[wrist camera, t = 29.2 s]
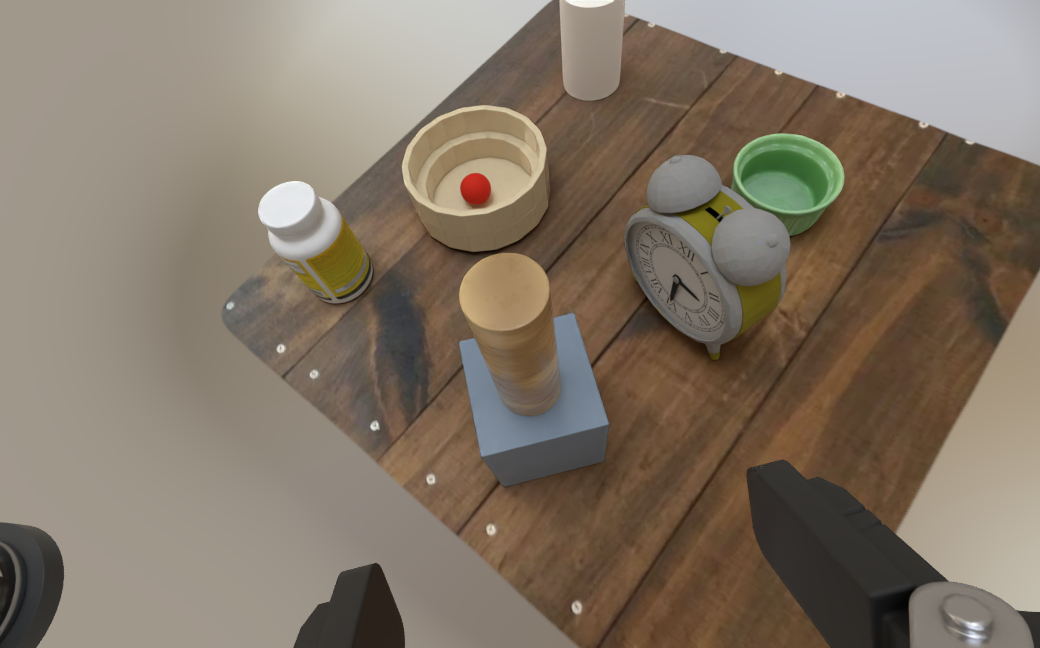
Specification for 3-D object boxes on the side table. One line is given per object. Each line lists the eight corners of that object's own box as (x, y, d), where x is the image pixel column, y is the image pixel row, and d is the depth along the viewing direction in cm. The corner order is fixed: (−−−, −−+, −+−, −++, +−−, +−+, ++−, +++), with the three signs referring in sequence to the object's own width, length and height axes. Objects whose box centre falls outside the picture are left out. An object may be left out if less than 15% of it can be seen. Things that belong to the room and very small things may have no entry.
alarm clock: (616, 281, 48) (627, 161, 35) (674, 241, 50) (706, 111, 36) (708, 378, 43) (762, 281, 30) (771, 331, 45) (849, 218, 31)
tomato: (485, 167, 53) (494, 196, 54) (456, 176, 53) (466, 205, 54) (485, 170, 50) (495, 201, 51) (455, 180, 50) (466, 211, 52)
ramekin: (805, 161, 52) (822, 125, 48) (839, 236, 48) (862, 204, 44) (711, 175, 52) (721, 141, 49) (737, 250, 48) (751, 220, 44)
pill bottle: (377, 247, 53) (329, 168, 43) (372, 302, 50) (320, 230, 40) (316, 254, 53) (255, 177, 44) (308, 308, 51) (241, 239, 41)
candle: (630, 69, 60) (643, -80, 47) (603, 107, 58) (608, -38, 45) (580, 55, 62) (579, -92, 49) (553, 90, 60) (543, -53, 47)
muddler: (504, 423, 33) (466, 340, 23) (493, 364, 35) (452, 263, 24) (568, 408, 33) (559, 319, 23) (553, 350, 35) (538, 243, 24)
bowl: (430, 270, 51) (412, 232, 46) (412, 168, 57) (394, 124, 52) (565, 236, 51) (562, 194, 46) (532, 137, 57) (526, 91, 52)
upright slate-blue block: (503, 487, 41) (480, 457, 32) (483, 391, 45) (458, 341, 36) (604, 461, 41) (609, 424, 32) (576, 368, 45) (574, 312, 36)
